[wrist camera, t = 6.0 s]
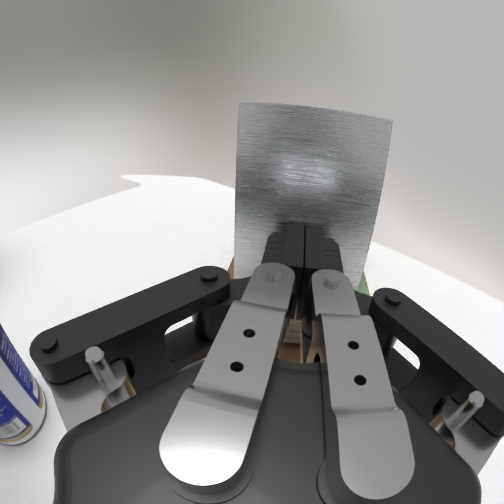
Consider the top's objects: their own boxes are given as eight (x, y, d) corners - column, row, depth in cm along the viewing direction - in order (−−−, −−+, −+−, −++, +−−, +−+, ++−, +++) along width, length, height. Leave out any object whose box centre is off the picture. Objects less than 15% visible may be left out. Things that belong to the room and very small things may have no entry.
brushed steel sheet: (233, 334, 16) (238, 101, 10) (240, 311, 18) (247, 101, 12) (393, 350, 15) (463, 140, 9) (387, 327, 17) (444, 133, 11)
